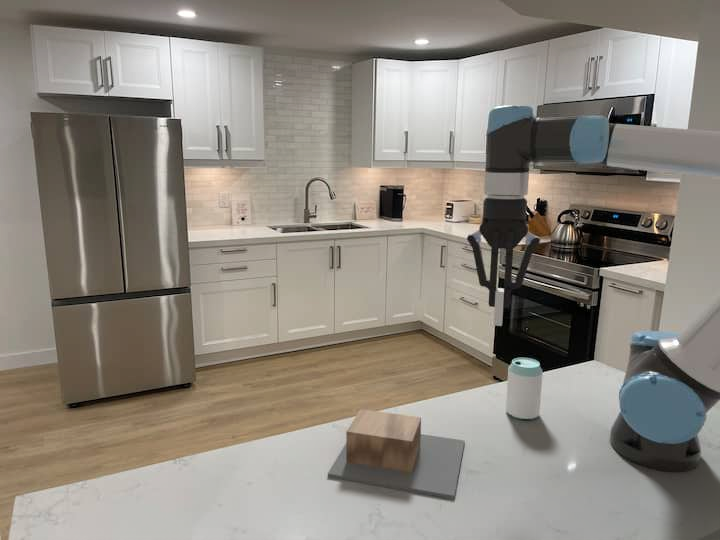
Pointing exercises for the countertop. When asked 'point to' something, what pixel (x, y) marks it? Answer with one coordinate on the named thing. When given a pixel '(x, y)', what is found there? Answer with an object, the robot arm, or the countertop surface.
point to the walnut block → (384, 440)
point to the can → (524, 388)
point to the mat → (428, 475)
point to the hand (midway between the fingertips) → (498, 323)
